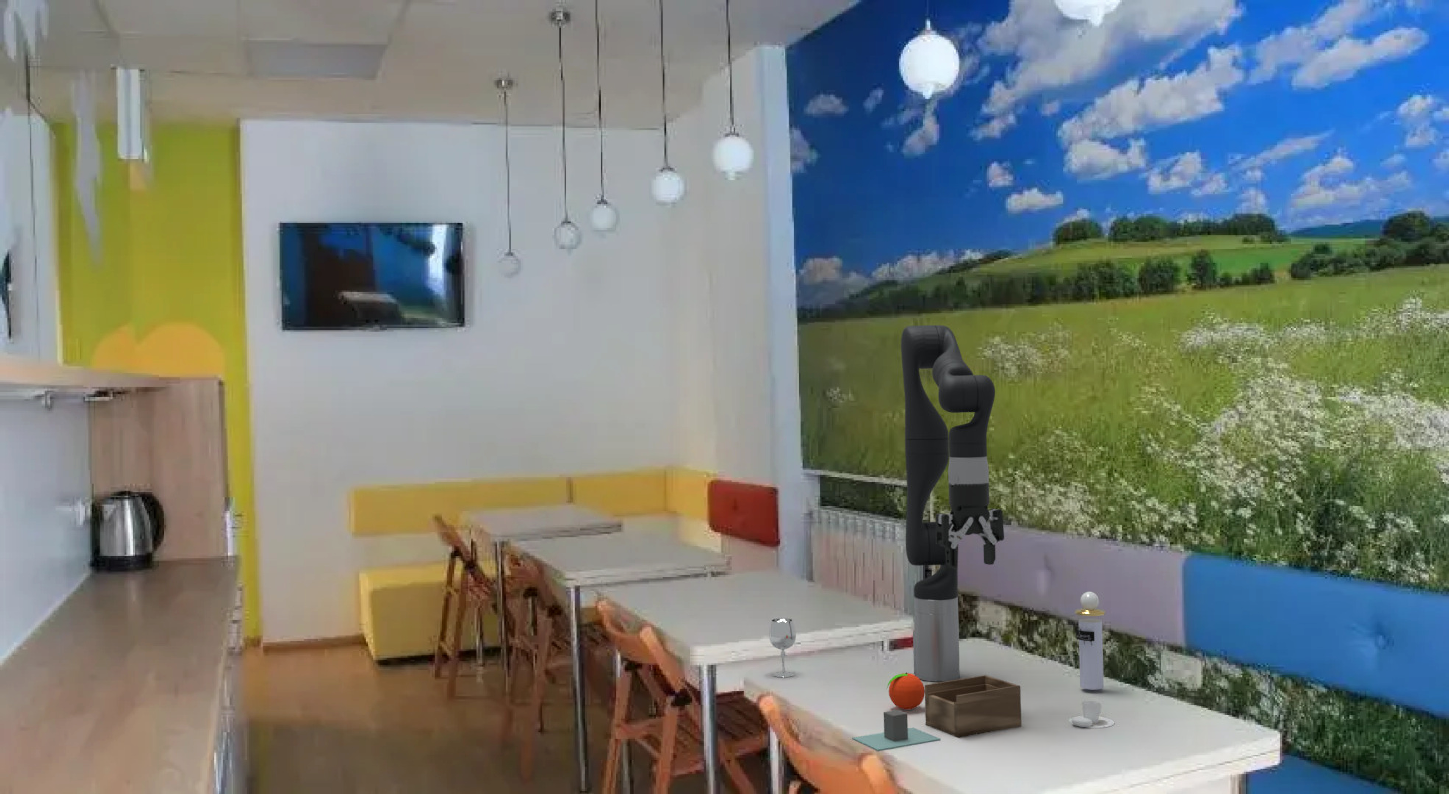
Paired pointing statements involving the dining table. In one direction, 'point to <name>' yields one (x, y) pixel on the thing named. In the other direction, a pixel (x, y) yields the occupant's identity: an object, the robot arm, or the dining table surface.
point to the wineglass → (782, 639)
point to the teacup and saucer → (1090, 715)
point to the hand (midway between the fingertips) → (970, 566)
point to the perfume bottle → (1090, 643)
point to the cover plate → (891, 745)
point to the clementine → (906, 691)
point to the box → (972, 706)
